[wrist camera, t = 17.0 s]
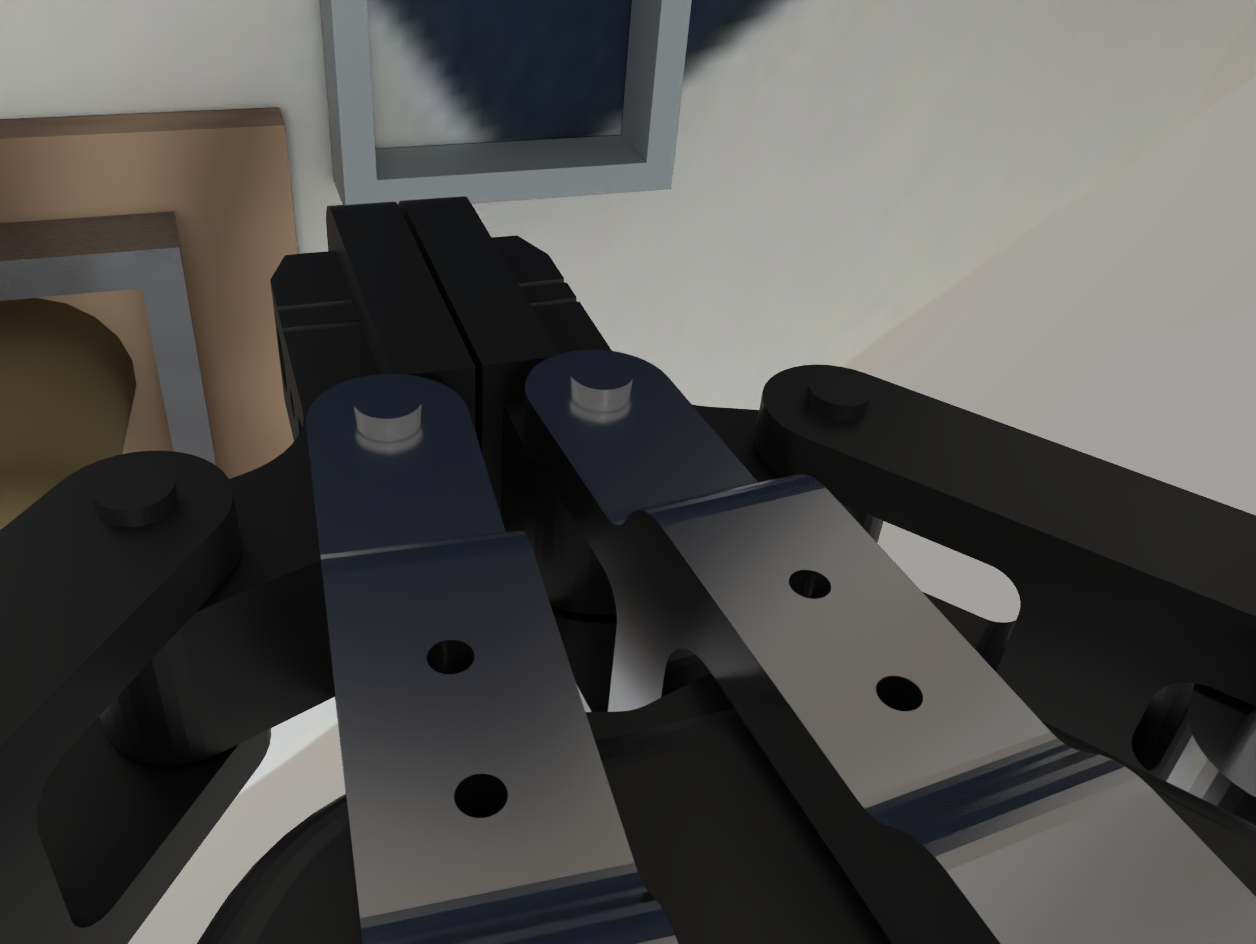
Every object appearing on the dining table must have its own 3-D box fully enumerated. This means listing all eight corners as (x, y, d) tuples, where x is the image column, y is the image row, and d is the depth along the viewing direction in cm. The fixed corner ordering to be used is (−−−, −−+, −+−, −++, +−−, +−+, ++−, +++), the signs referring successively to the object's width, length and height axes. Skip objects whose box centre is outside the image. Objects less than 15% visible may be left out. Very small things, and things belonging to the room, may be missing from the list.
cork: (133, 459, 39) (146, 691, 31) (-71, 457, 37) (-115, 710, 29) (139, 303, 36) (153, 517, 28) (-85, 289, 34) (-139, 521, 26)
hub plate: (278, 107, 36) (285, 125, 35) (320, 507, 45) (325, 531, 44) (-436, 138, 30) (-456, 160, 29) (-215, 590, 39) (-223, 619, 38)
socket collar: (174, 211, 35) (178, 246, 33) (221, 494, 41) (227, 537, 40) (-253, 240, 31) (-274, 283, 30) (-127, 545, 38) (-138, 595, 36)
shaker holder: (677, -189, 35) (710, -175, 33) (644, 160, 41) (671, 189, 39) (304, -205, 31) (317, -190, 29) (333, 180, 38) (346, 212, 36)
